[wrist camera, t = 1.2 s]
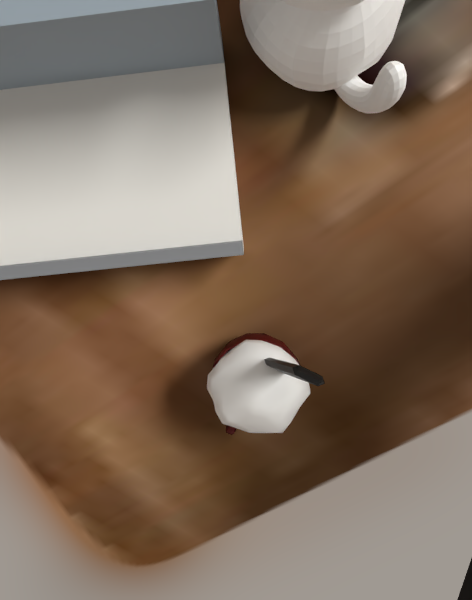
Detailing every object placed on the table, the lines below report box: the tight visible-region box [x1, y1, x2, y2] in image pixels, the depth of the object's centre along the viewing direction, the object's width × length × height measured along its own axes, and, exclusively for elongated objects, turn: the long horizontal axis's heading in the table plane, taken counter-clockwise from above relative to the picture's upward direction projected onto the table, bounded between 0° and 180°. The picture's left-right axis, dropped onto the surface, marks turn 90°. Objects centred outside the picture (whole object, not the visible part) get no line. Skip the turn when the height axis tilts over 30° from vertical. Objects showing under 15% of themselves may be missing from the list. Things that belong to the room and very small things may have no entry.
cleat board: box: [0, 0, 244, 280], centre depth 24 cm, size 18×13×12 cm
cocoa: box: [207, 333, 325, 435], centre depth 28 cm, size 10×6×12 cm, turn 132°
